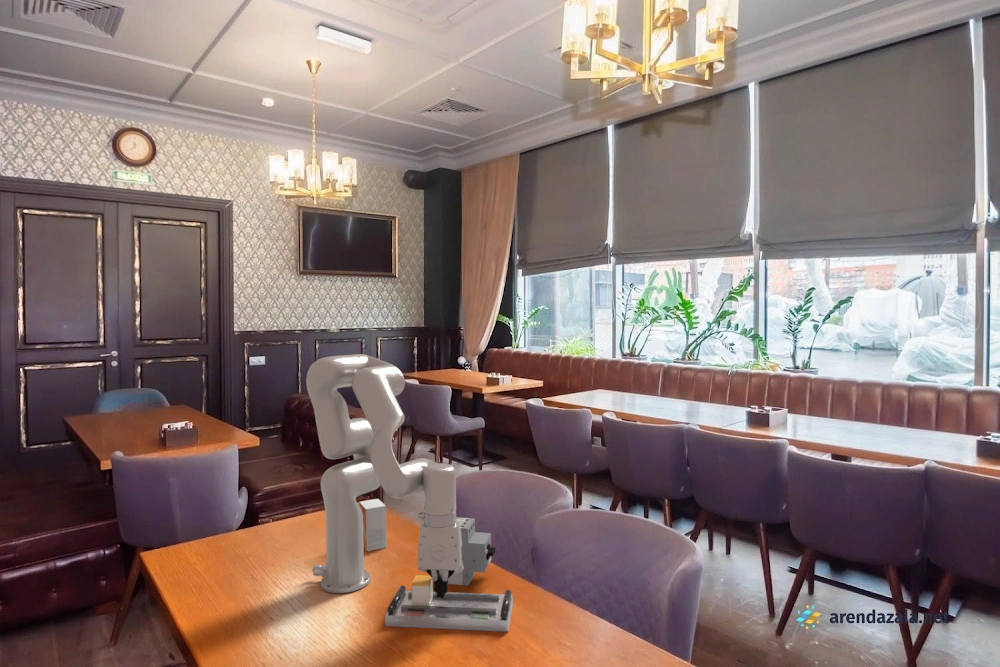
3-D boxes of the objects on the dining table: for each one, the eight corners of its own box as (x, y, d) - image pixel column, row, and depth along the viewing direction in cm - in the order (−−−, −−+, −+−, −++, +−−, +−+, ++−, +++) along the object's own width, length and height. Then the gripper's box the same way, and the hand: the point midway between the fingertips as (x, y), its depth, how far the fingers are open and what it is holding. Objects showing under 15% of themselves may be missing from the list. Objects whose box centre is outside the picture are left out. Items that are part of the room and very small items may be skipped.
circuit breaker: (491, 587, 150) (490, 530, 149) (438, 583, 152) (437, 526, 152) (497, 574, 157) (496, 519, 156) (446, 570, 160) (446, 516, 159)
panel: (385, 626, 131) (385, 608, 131) (400, 600, 143) (399, 583, 143) (508, 631, 128) (507, 613, 128) (512, 604, 140) (512, 588, 140)
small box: (359, 542, 180) (358, 501, 180) (379, 539, 183) (378, 498, 183) (366, 552, 173) (365, 508, 173) (387, 547, 176) (386, 505, 176)
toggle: (412, 606, 135) (411, 582, 135) (416, 597, 139) (416, 575, 139) (429, 606, 134) (428, 583, 134) (432, 598, 138) (432, 575, 138)
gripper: (404, 523, 133) (405, 602, 133) (469, 524, 131) (470, 604, 132) (412, 511, 140) (414, 586, 141) (474, 513, 138) (475, 589, 139)
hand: (441, 595), depth 136 cm, fingers closed
